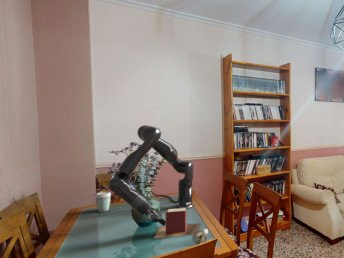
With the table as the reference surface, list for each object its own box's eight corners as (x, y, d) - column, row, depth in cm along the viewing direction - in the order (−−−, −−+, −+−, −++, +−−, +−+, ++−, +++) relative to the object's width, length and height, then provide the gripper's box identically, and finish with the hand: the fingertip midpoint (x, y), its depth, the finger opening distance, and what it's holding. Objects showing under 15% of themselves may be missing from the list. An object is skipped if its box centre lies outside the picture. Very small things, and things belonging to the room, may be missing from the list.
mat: (153, 238, 134) (153, 238, 134) (159, 227, 148) (159, 227, 148) (197, 234, 140) (197, 233, 140) (199, 224, 153) (199, 223, 153)
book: (165, 233, 139) (165, 212, 139) (167, 229, 144) (167, 209, 144) (185, 231, 142) (185, 210, 141) (186, 228, 147) (186, 207, 146)
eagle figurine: (191, 236, 136) (188, 241, 127) (199, 224, 137) (196, 228, 128) (203, 243, 136) (201, 248, 128) (211, 231, 138) (209, 235, 129)
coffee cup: (113, 209, 174) (113, 192, 173) (99, 213, 166) (98, 195, 166) (107, 207, 178) (107, 190, 178) (93, 210, 171) (93, 193, 170)
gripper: (142, 203, 132) (168, 224, 136) (149, 195, 145) (172, 214, 148) (131, 213, 131) (157, 234, 134) (139, 205, 143) (162, 224, 147)
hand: (165, 224), depth 141 cm, fingers closed
